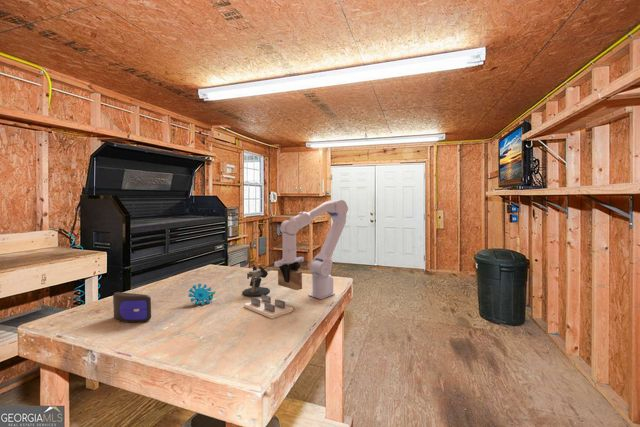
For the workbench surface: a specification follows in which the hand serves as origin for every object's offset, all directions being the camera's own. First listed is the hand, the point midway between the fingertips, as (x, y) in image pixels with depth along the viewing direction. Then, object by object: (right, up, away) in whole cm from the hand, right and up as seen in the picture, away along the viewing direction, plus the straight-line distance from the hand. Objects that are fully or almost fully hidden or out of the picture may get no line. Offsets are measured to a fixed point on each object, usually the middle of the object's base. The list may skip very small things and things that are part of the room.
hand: (289, 281), depth 122 cm
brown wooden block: (0, -2, 0) cm, 2 cm away
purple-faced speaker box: (-55, -10, -17) cm, 59 cm away
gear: (-37, -9, 0) cm, 38 cm away
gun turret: (-16, -9, +16) cm, 24 cm away
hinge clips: (-8, -8, -8) cm, 14 cm away
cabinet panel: (-8, -9, -8) cm, 14 cm away
